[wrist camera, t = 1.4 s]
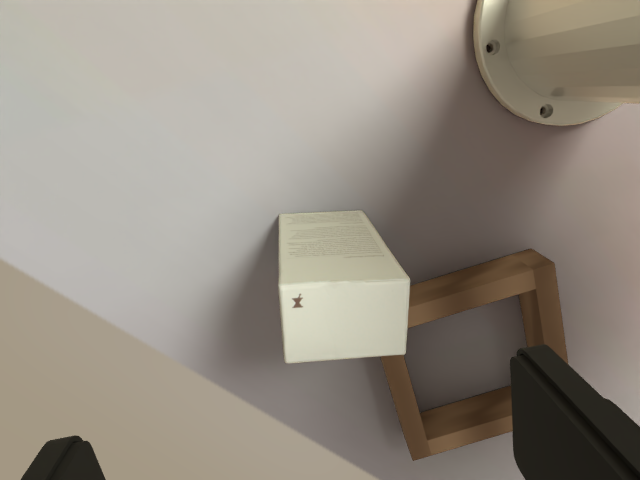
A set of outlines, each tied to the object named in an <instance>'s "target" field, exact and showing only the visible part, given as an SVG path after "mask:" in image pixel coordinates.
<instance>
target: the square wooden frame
mask: <svg viewBox="0 0 640 480" xmlns="http://www.w3.org/2000/svg"><path fill="white" fill-rule="evenodd" d="M518 294H519V300H520V306H521V312H522V318H523V324H524V330H525V335H526V341H527V347H532V346H537V345H542V344H545V345H547V346H549V347H550V348H551V349H552V350H553V351H554V352H555V353H556V354H557V355H559V356H560V357H561V358H562V359H563V360H564V361H565V362H566V363H567V364H568V359H567V352H566V345H565V337H564V330H563V323H562V315H561V308H560V300H559V293H558V286H557V278H556V271H555V264H554V263H553V262H552V261H550V260H549V259H547V258H546V257H544V256H542V255H541V254H539V253H538V252H536V251H535V250H533V249H528V250H524V251H521V252H518V253H515V254H511V255H508V256H505V257H502V258H499V259H495V260H492V261H489V262H486V263H482V264H479V265H476V266H473V267H469V268H466V269H463V270H460V271H456V272H453V273H450V274H447V275H443V276H440V277H437V278H434V279H430V280H427V281H424V282H421V283H418V284H414V285H411V286H410V294H409V310H408V326H407V328H410V327H413V326H416V325H420V324H423V323H426V322H429V321H433V320H436V319H439V318H443V317H446V316H449V315H452V314H456V313H459V312H462V311H465V310H469V309H472V308H475V307H478V306H482V305H485V304H488V303H491V302H495V301H498V300H501V299H505V298H508V297H511V296H514V295H518ZM380 357H381V361H382V364H383V367H384V371H385V374H386V377H387V381H388V384H389V387H390V391H391V394H392V397H393V401H394V404H395V407H396V411H397V414H398V417H399V421H400V424H401V427H402V431H403V434H404V437H405V440H406V442H407V445H408V448H409V451H410V454H411V457H412V460H413V461H414V460H418V459H421V458H424V457H428V456H431V455H434V454H438V453H441V452H444V451H448V450H451V449H454V448H458V447H461V446H464V445H468V444H471V443H474V442H478V441H481V440H484V439H488V438H491V437H494V436H498V435H501V434H504V433H508V432H511V431H513V426H512V398H511V386H507V387H504V388H501V389H498V390H494V391H491V392H488V393H484V394H481V395H478V396H474V397H471V398H468V399H464V400H461V401H458V402H454V403H451V404H448V405H445V406H441V407H438V408H435V409H431V410H428V411H425V412H421V413H419V409H418V405H417V402H416V398H415V395H414V391H413V388H412V384H411V380H410V377H409V373H408V370H407V366H406V363H405V359H404V355H390V356H380Z"/></svg>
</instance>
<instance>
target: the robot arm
mask: <svg viewBox="0 0 640 480" xmlns="http://www.w3.org/2000/svg"><path fill="white" fill-rule="evenodd" d="M473 40H474V48H475V56H476V60H477V63H478V66H479V70H480V73H481V76H482V78H483V79H484V81H485V83H486V85H487V87H488V88H489V90H490V92H491V93H492V94H493V95H494V96H495V98H496V99H497V100H498V101H499V102H500V103H501V105H503V106H504V107H505V108H507V109H508V110H509V111H511V112H512V113H513V114H515V115H517V116H519V117H521V118H524V119H526V120H528V121H530V122H535V123H540V124H546V125H557V126H567V125H575V124H582V123H585V122H588V121H591V120H594V119H597V118H600V117H601V116H603V115H605V114H607V113H609V112H611V111H613V110H615V109H616V108H618V107H619V106H620V105H622V104H623V103H636V104H640V0H478V1H477V5H476V10H475V14H474V29H473ZM487 44H488V45H490V51H489V52H488V53H487V50H486V45H487ZM541 108H542V112H541V113H540V109H541ZM510 371H511V398H512V426H513V451H514V457H515V461H516V463H517V466H518V468H519V470H520V472H521V473H522V475H523V476H524V478H525V479H526V480H640V427H639V426H638V425H637V424H636V423H635V422H634V421H633V420H632V419H630V418H629V417H628V416H627V415H626V414H625V413H624V412H623V411H622V410H621V409H620V408H619V407H618V406H617V405H615V404H614V403H613V402H611V401H610V400H608V399H605V398H603V397H602V396H601V395H600V394H599V393H598V392H596V391H595V390H594V389H593V388H592V387H591V386H590V385H589V384H588V383H587V382H586V381H585V380H584V379H583V378H582V377H581V376H580V375H579V374H578V373H576V372H575V371H574V370H573V369H572V368H571V367H570V366H569V365H568V364H567V363H566V362H565V361H564V360H563V359H562V358H561V357H560V356H559V355H557V354H556V353H555V352H554V351H553V350H552V349H551V348H550V347H549V346H547V345H545V344H542V345H537V346H532V347H526V348H521V349H519V350H518V351H517V356H516V357H512V358H511V360H510ZM21 480H105V477H104V475H103V472H102V470H101V468H100V465H99V463H98V460H97V458H96V456H95V453H94V451H93V449H92V446H91V444H90V443H89V442H88V441H83V440H82V438H80V437H79V436H71V437H65V438H60V439H55V440H50V441H48V442H47V443H46V444H45V445H44V446H43V447H42V449H41V450H40V452H39V453H38V455H37V456H36V458H35V459H34V461H33V462H32V464H31V465H30V467H29V468H28V470H27V471H26V472H25V474H24V475H23V477H22V479H21Z"/></svg>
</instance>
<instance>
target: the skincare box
mask: <svg viewBox="0 0 640 480" xmlns="http://www.w3.org/2000/svg"><path fill="white" fill-rule="evenodd" d="M278 292H279V304H280V316H281V329H282V342H283V354H284V361H285V363H287V364H289V363H301V362H314V361H327V360H339V359H351V358H363V357H377V356H390V355H404V354H406V341H407V326H408V310H409V294H410V278H409V277H408V275H407V274H406V272H405V271H404V270H403V268H402V267H401V266H400V264H399V263H398V261H397V260H396V259H395V257H394V256H393V254H392V253H391V251H390V250H389V248H388V247H387V245H386V244H385V242H384V241H383V240H382V238H381V237H380V235H379V234H378V232H377V231H376V229H375V228H374V226H373V225H372V223H371V222H370V220H369V219H368V217H367V216H366V214H365V213H364V212H363V211H362V210H358V211H335V212H313V213H291V214H279V280H278Z"/></svg>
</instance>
